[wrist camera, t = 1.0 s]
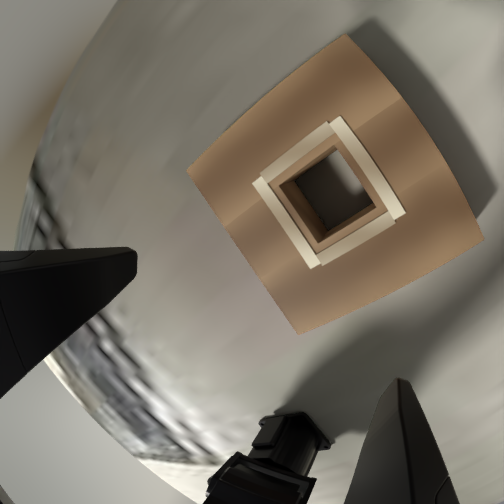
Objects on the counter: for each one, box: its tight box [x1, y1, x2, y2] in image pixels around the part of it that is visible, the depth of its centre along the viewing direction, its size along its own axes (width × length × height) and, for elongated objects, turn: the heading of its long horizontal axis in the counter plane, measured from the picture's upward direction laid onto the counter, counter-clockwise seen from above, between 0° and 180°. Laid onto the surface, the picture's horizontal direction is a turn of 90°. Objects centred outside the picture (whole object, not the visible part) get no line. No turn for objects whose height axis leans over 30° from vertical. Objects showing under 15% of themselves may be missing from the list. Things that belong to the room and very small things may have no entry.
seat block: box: [186, 34, 484, 335], centre depth 18 cm, size 14×14×3 cm
